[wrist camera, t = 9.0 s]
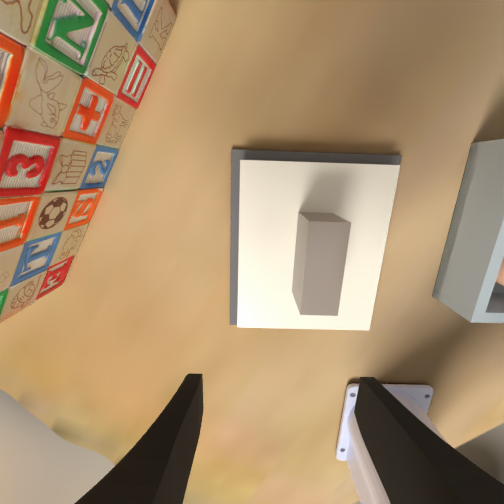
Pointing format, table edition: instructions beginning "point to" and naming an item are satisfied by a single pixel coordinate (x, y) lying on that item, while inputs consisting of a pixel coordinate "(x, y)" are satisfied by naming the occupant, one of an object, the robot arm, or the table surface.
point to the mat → (280, 156)
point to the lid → (311, 242)
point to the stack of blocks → (64, 125)
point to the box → (476, 240)
